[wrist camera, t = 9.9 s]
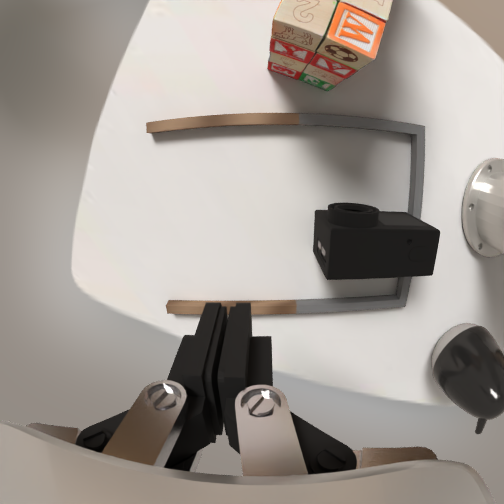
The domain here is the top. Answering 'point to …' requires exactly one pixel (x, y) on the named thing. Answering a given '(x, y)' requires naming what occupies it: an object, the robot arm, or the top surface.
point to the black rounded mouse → (471, 371)
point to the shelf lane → (218, 121)
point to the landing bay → (413, 208)
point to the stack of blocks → (326, 38)
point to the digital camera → (372, 243)
